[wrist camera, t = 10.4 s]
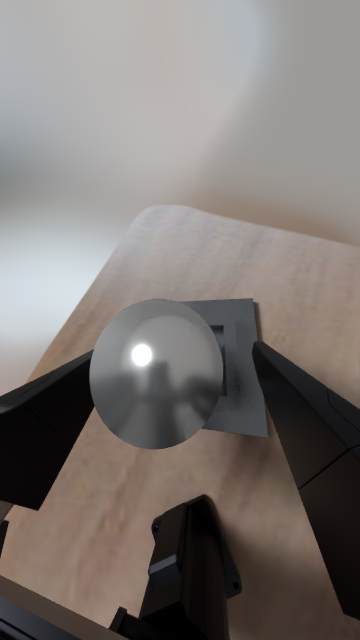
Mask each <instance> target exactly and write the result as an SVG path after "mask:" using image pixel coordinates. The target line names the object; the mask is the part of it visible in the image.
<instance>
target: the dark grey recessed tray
mask: <svg viewBox="0 0 360 640" xmlns="http://www.w3.org/2000/svg"><path fill="white" fill-rule="evenodd" d="M179 303H181V304H183V305H186V306H187V307H189V308H191V309H192V310H194V311H195V312H196V313H197V314H199V315H200V316H201V317H202V318H203V319H204V320H205V321H206V323H207V324H208V326H209V327H210V328H211V330H212V332H213V334H214V335H215V337H216V339H217V341H218V344H219V346H220V349H221V353H222V358H223V380H222V387H221V392H220V395H219V399H218V402H217V404H216V406H215V408H214V411H213V412H212V414H211V416H210V417H209V419H208V420H207V422H206V423H205V424H204V425H203V426H202V428H201V429H209V430H216V431H223V432H230V433H238V434H245V435H252V436H259V437H266V438H268V431H267V422H266V413H265V404H264V395H263V393H262V390H261V387H260V385H259V382H258V378H257V374H256V370H255V366H254V362H253V357H252V349H253V343H254V342H255V341H258V340H257V331H256V322H255V313H254V304H253V298H249V299H228V300H207V301H186V302H179Z"/></svg>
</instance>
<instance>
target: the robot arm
mask: <svg viewBox="0 0 360 640" xmlns="http://www.w3.org/2000/svg"><path fill="white" fill-rule="evenodd" d="M93 351H94V349H93V350H91V351H89V352H87V353H85V354H84V355H82V356H80V357H78V358H76V359H74V360H72V361H70V362H68V363H66V364H64V365H62V366H61V367H59V368H57V369H55V370H53V371H51V372H49V373H47V374H45V375H43V376H41V377H39V378H37V379H35V380H33V381H31V382H29V383H27V384H25V385H23V386H21V387H19V388H17V389H15V390H12V391H10V392H8V393H6V394H4V395H2V396H0V557H1V553H2V549H3V544H4V540H5V536H6V532H7V528H8V524H9V521H7V520H5V519H4V518H5V517H6V515H7V514H8V513H9V511H10V510H11V509H12V507H13V506H14V504H15V505H18V506H22V507H25V508H29V509H33V510H36V511H38V510H39V509H40V507H41V506H42V504H43V502H44V500H45V498H46V496H47V495H48V493H49V491H50V489H51V487H52V485H53V483H54V481H55V480H56V478H57V476H58V474H59V472H60V470H61V468H62V466H63V465H64V463H65V461H66V459H67V457H68V455H69V453H70V452H71V450H72V448H73V445H74V444H75V442H76V440H77V438H78V436H79V434H80V433H81V431H82V429H83V427H84V425H85V423H86V421H87V420H88V418H89V416H90V414H91V412H92V410H93V408H94V406H95V405H94V402H93V399H92V394H91V389H90V364H91V359H92V354H93ZM252 357H253V362H254V366H255V370H256V374H257V378H258V382H259V385H260V387H261V390H262V393H263V395H264V398H265V401H266V404H267V406H268V409H269V412H270V415H271V417H272V420H273V423H274V426H275V428H276V431H277V434H278V436H279V439H280V442H281V445H282V447H283V450H284V453H285V456H286V458H287V461H288V464H289V467H290V469H291V472H292V475H293V477H294V480H295V483H296V486H297V488H298V490H299V494H300V497H301V500H302V502H303V505H304V508H305V511H306V513H307V516H308V519H309V522H310V524H311V527H312V530H313V532H314V535H315V538H316V541H317V543H318V546H319V549H320V552H321V554H322V557H323V560H324V563H325V565H326V568H327V571H328V573H329V576H330V579H331V582H332V584H333V587H334V590H335V593H336V595H337V598H338V601H339V603H340V606H341V608H342V611H343V613H344V615H345V616H348V617H350V618H353V619H355V620H357V621H360V409H359V408H357V407H355V406H354V405H353V404H351V403H350V402H348V401H347V400H345V399H344V398H342V397H341V396H339V395H338V394H336V393H335V392H334V391H332V390H331V389H329V388H328V389H327V387H326V386H325V385H324V384H322V383H321V382H319V381H318V380H316V379H315V378H314V377H312V376H311V375H309V374H308V373H307V372H305V371H304V370H302V369H301V368H299V367H298V366H297V365H295V364H294V363H292V362H291V361H289V360H288V359H287V358H285V357H284V356H282V355H281V354H279V353H278V352H277V351H275V350H274V349H272V348H271V347H269V346H268V345H267V344H265V343H264V342H262V341H255V342H254V343H253V349H252ZM202 502H204V503H205V505H203V504H202ZM156 526H157V527H158V528H157V527H156ZM151 529H152V534H153V537H154V540H155V547H154V551H153V554H152V558H151V561H150V565H149V569H148V575H149V580H148V584H147V587H146V591H145V595H144V598H143V602H142V606H141V610H140V613H139V617H138V618H137V617H135V616H133V615H130V614H128V613H127V609H125V608H123V607H119V609H118V611H117V613H116V615H115V617H114V619H113V621H112V623H111V625H110V627H109V628H108V629H107V628H105V627H103V626H101V625H99V624H97V623H95V622H93V621H91V620H89V619H87V618H85V617H83V616H81V615H79V614H77V613H75V612H73V611H71V610H69V609H67V608H65V607H63V606H61V605H59V604H57V603H55V602H53V601H51V600H49V599H47V598H45V597H43V596H41V595H39V594H37V593H35V592H33V591H31V590H29V589H27V588H25V587H23V586H21V585H19V584H17V583H15V582H13V581H11V580H9V579H7V578H5V577H3V576H1V575H0V640H230V635H229V621H228V608H227V599H229V598H231V597H233V596H235V595H237V594H239V593H241V591H242V584H241V578H240V575H239V573H238V570H237V568H236V565H235V563H234V561H233V558H232V556H231V554H230V551H229V549H228V547H227V544H226V542H225V539H224V537H223V535H222V532H221V530H220V528H219V525H218V523H217V521H216V518H215V516H214V513H213V511H212V509H211V506H210V504H209V502H208V499H207V498H206V497H205V496H204V495H201V496H199V497H197V498H195V499H193V500H191V501H189V502H187V503H182V504H180V505H178V506H176V507H174V508H172V509H170V510H168V511H166V512H165V513H164V514H163V515H161V516H159V517H157V518H155V519H154V521H153V523H152V527H151ZM234 581H236V582H234Z"/></svg>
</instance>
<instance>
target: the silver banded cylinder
mask: <svg viewBox="0 0 360 640" xmlns="http://www.w3.org/2000/svg"><path fill="white" fill-rule="evenodd" d="M222 380H223V358H222V353H221V349H220V346H219V344H218V341H217V339H216V337H215V335H214V334H213V332H212V330H211V328H210V327H209V326H208V324H207V323H206V321H205V320H204V319H203V318H202V317H201V316H200V315H199V314H197V313H196V312H195V311H194V310H192V309H191V308H189V307H187V306H186V305H183V304H181V303H179V302H176V301H172V300H166V299H151V300H145V301H141V302H138V303H136V304H133V305H131V306H129V307H127V308H126V309H124V310H123V311H121V312H120V313H119V314H117V315H116V316H115V317H114V318H113V319H112V320H111V321H110V322H109V323H108V325H107V326H106V327H105V329H104V330H103V332H102V333H101V335H100V337H99V339H98V341H97V343H96V345H95V348H94V351H93V354H92V359H91V364H90V389H91V394H92V399H93V402H94V405H95V407H96V410H97V412H98V414H99V416H100V417H101V419H102V420H103V422H104V423H105V425H106V426H107V427H108V428H109V429H110V431H112V432H113V433H114V434H115V435H116V436H117V437H119V438H120V439H122V440H123V441H125V442H127V443H129V444H131V445H133V446H136V447H140V448H145V449H164V448H168V447H172V446H175V445H177V444H180V443H182V442H184V441H185V440H187V439H189V438H190V437H192V436H193V435H194V434H195V433H196V432H197V431H199V430H200V429H201V428H202V426H203V425H204V424H205V423H206V422H207V420H208V419H209V417H210V416H211V414H212V412H213V411H214V408H215V406H216V404H217V402H218V399H219V395H220V392H221V387H222Z"/></svg>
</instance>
